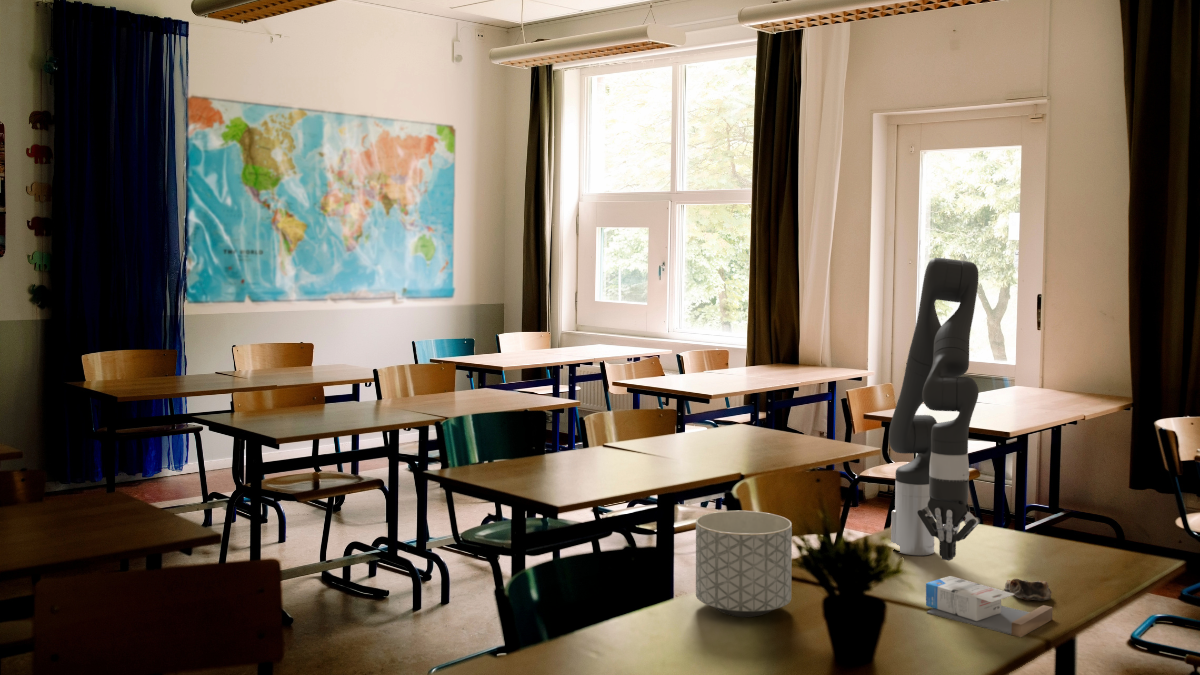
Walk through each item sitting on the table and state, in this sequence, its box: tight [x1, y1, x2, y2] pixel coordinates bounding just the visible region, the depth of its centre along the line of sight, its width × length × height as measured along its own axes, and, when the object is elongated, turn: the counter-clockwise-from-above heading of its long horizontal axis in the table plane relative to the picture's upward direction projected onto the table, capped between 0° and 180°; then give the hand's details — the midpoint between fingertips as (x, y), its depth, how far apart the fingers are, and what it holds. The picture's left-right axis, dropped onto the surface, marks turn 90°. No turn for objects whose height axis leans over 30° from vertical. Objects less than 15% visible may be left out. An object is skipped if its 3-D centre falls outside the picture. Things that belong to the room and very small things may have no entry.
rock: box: [1003, 577, 1053, 602], centre depth 211 cm, size 9×6×10 cm
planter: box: [695, 510, 793, 618], centre depth 202 cm, size 19×19×18 cm
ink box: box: [925, 575, 1015, 621], centre depth 200 cm, size 8×5×15 cm
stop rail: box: [1010, 604, 1054, 638], centre depth 193 cm, size 2×14×2 cm, turn 134°
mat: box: [926, 605, 1031, 636], centre depth 200 cm, size 17×14×1 cm
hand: (947, 559), depth 204 cm, fingers closed
